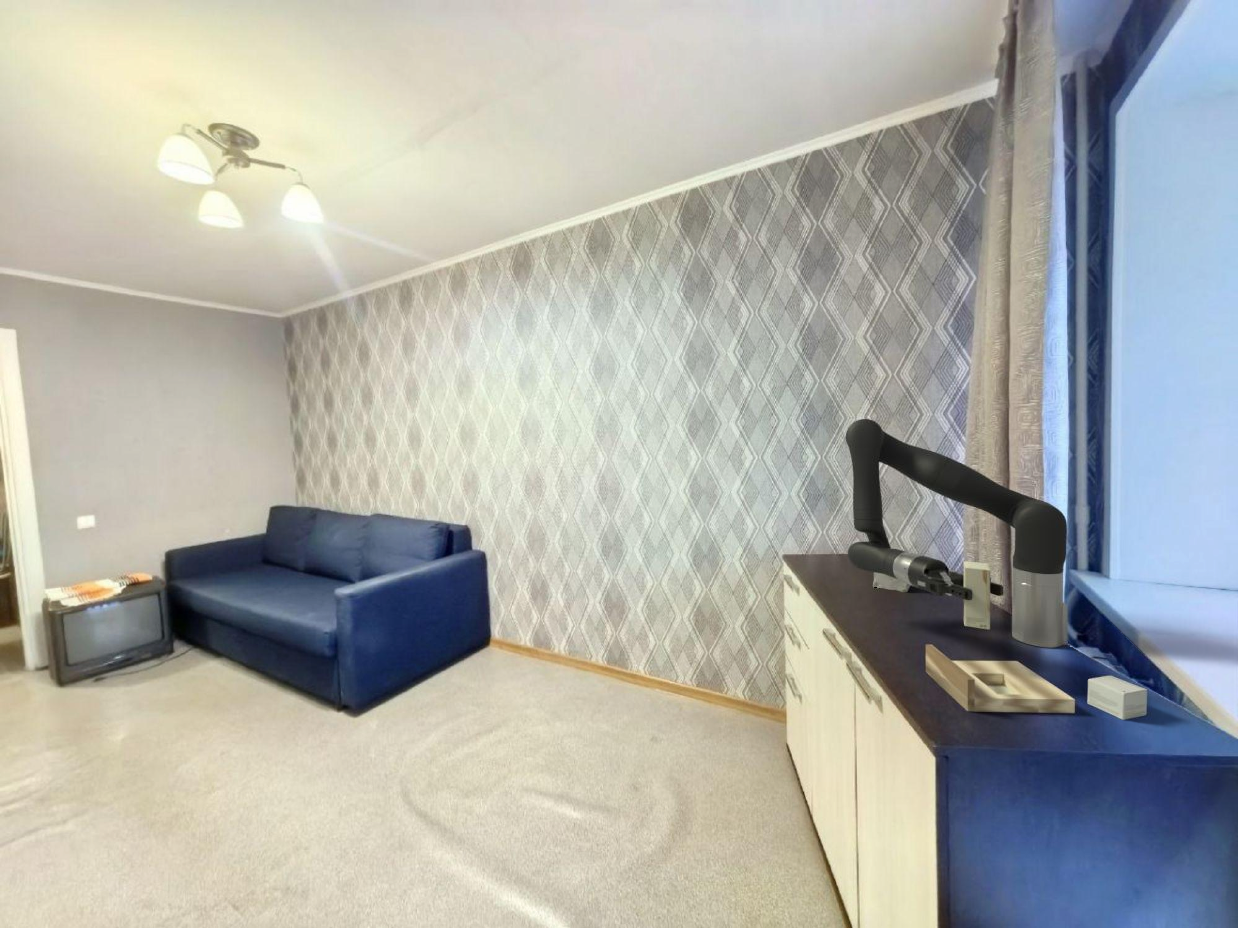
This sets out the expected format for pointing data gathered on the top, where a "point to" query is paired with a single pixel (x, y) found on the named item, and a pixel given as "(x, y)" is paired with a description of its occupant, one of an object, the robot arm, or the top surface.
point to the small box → (1117, 697)
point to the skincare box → (977, 595)
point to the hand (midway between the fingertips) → (986, 593)
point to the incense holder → (889, 583)
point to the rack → (996, 685)
